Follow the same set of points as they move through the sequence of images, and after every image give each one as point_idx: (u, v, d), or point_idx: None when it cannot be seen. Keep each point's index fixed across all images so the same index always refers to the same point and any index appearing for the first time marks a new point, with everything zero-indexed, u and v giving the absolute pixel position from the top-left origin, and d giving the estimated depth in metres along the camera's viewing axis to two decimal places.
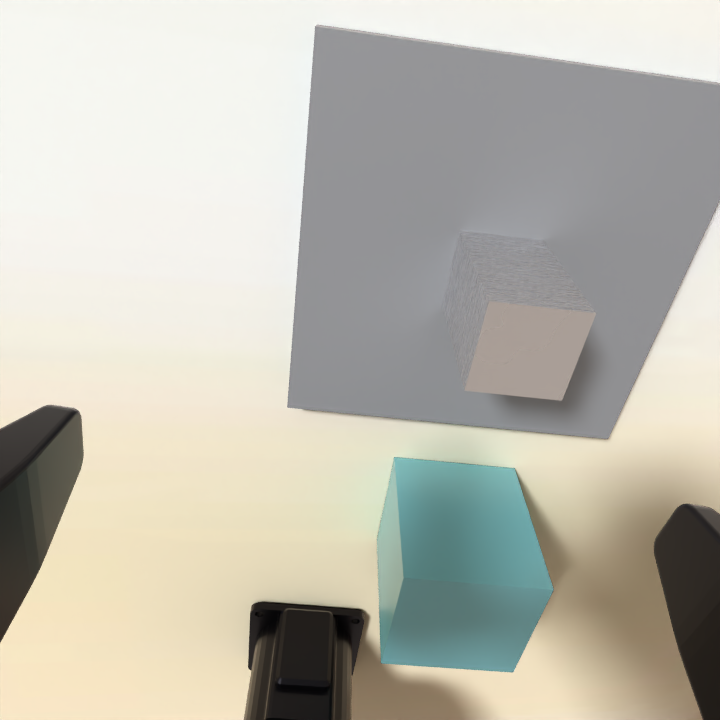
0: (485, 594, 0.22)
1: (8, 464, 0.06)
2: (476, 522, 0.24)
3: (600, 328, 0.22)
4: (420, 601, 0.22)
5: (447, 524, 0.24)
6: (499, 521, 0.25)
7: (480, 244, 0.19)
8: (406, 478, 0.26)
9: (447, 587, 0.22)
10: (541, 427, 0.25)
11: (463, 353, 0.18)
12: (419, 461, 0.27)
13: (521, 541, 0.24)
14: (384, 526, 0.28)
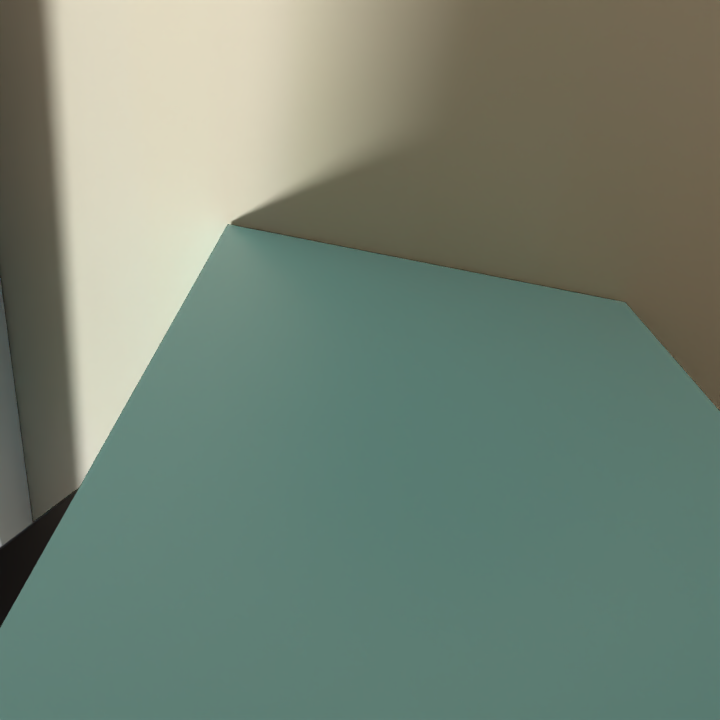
0: None
1: None
2: None
3: None
4: None
5: None
6: None
7: None
8: None
9: None
10: None
11: None
12: None
13: None
14: None
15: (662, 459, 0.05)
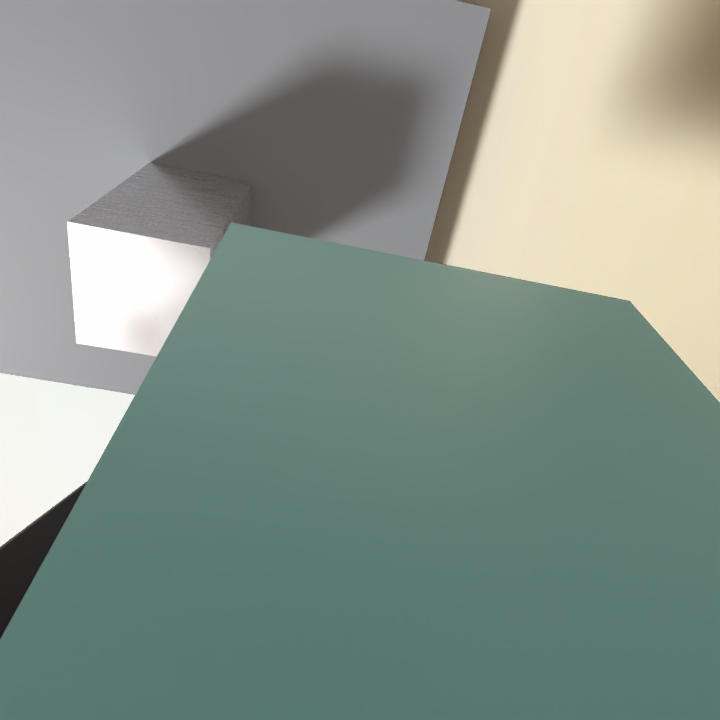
0: None
1: None
2: None
3: (272, 62, 0.15)
4: None
5: None
6: None
7: None
8: None
9: None
10: (448, 132, 0.16)
11: None
12: None
13: None
14: None
15: (669, 458, 0.05)
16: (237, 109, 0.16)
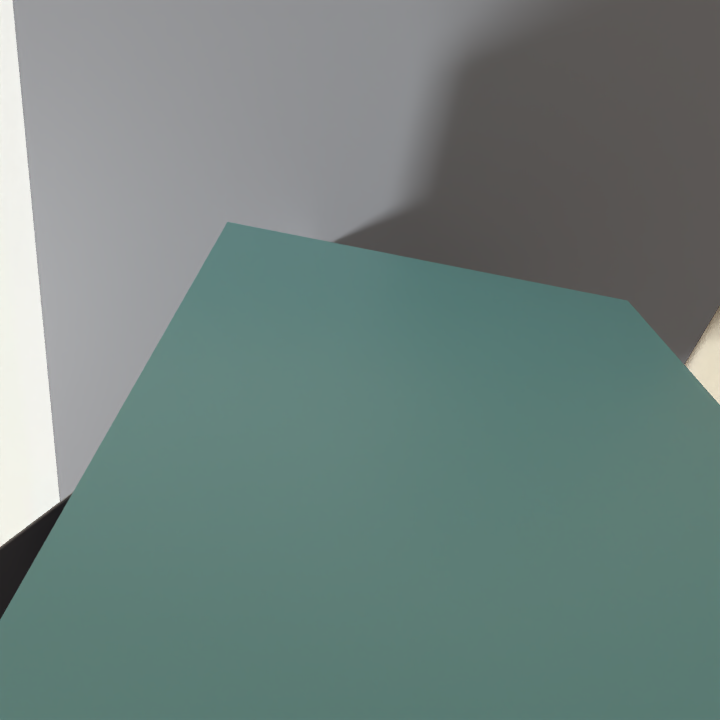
0: None
1: None
2: None
3: (528, 112, 0.10)
4: None
5: None
6: None
7: None
8: None
9: None
10: None
11: None
12: None
13: None
14: None
15: (667, 459, 0.05)
16: (461, 178, 0.11)
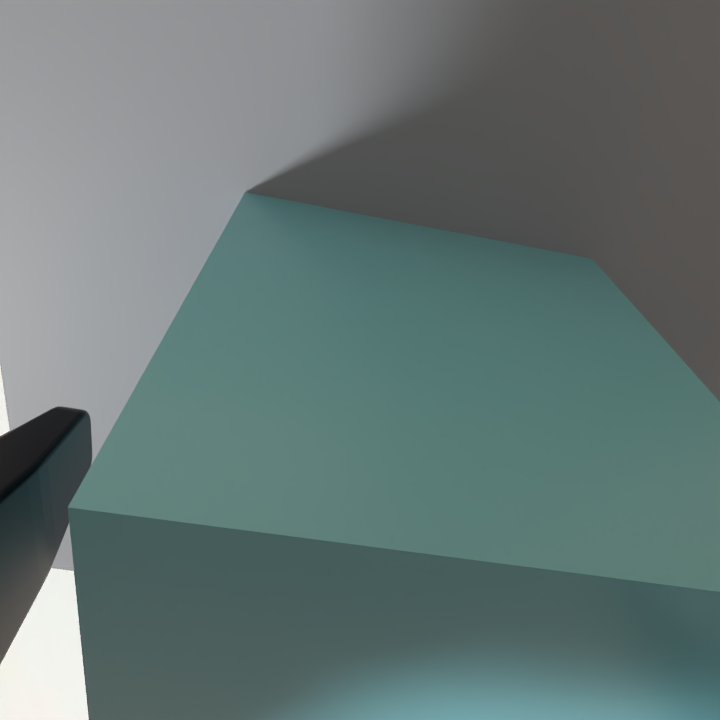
0: None
1: (20, 466, 0.06)
2: None
3: (562, 135, 0.09)
4: None
5: None
6: None
7: None
8: None
9: None
10: None
11: None
12: None
13: None
14: None
15: (606, 366, 0.06)
16: (482, 211, 0.09)
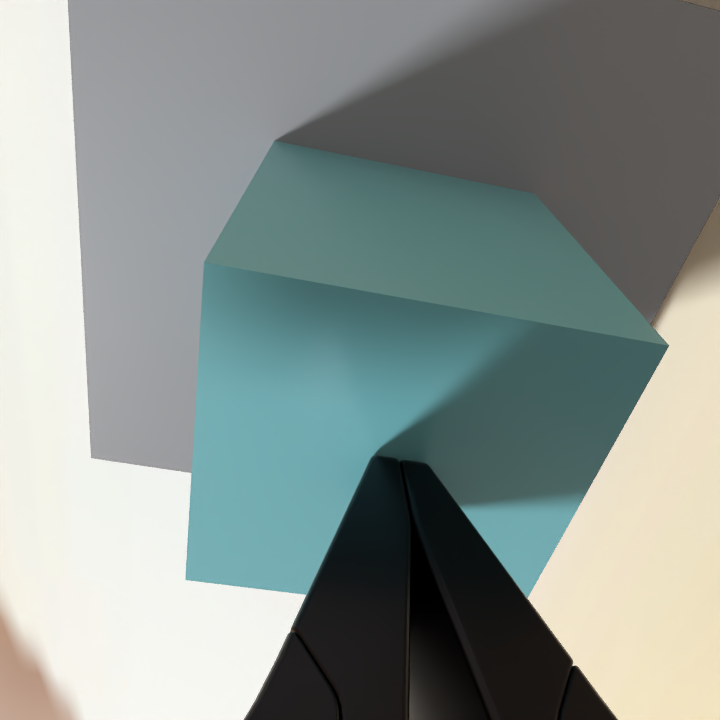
0: (239, 435, 0.08)
1: (399, 520, 0.07)
2: None
3: (507, 97, 0.12)
4: (271, 555, 0.09)
5: None
6: None
7: None
8: None
9: (213, 510, 0.09)
10: (712, 186, 0.13)
11: None
12: None
13: None
14: None
15: (523, 243, 0.10)
16: (450, 156, 0.12)
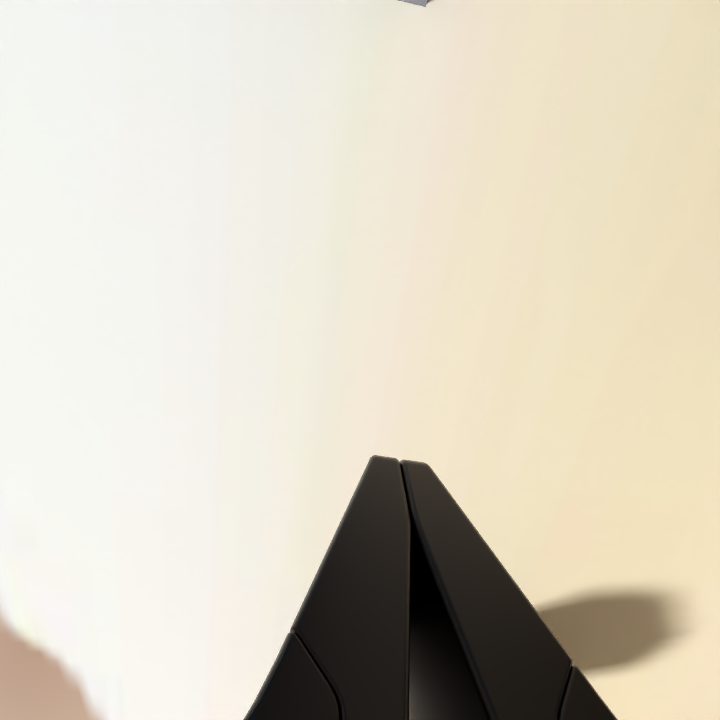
0: None
1: (398, 520, 0.07)
2: None
3: None
4: None
5: None
6: None
7: None
8: None
9: None
10: None
11: None
12: None
13: None
14: None
15: None
16: None
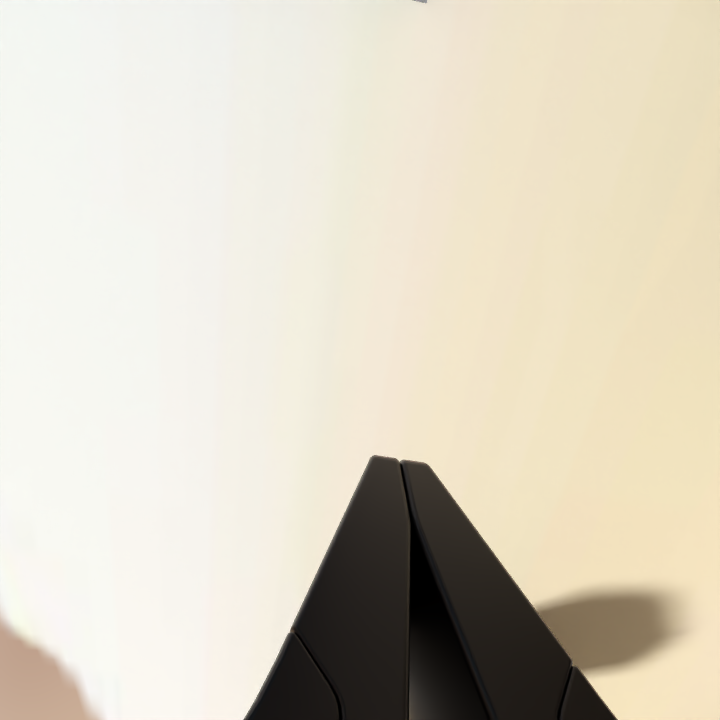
0: None
1: (398, 520, 0.07)
2: None
3: None
4: None
5: None
6: None
7: None
8: None
9: None
10: None
11: None
12: None
13: None
14: None
15: None
16: None
